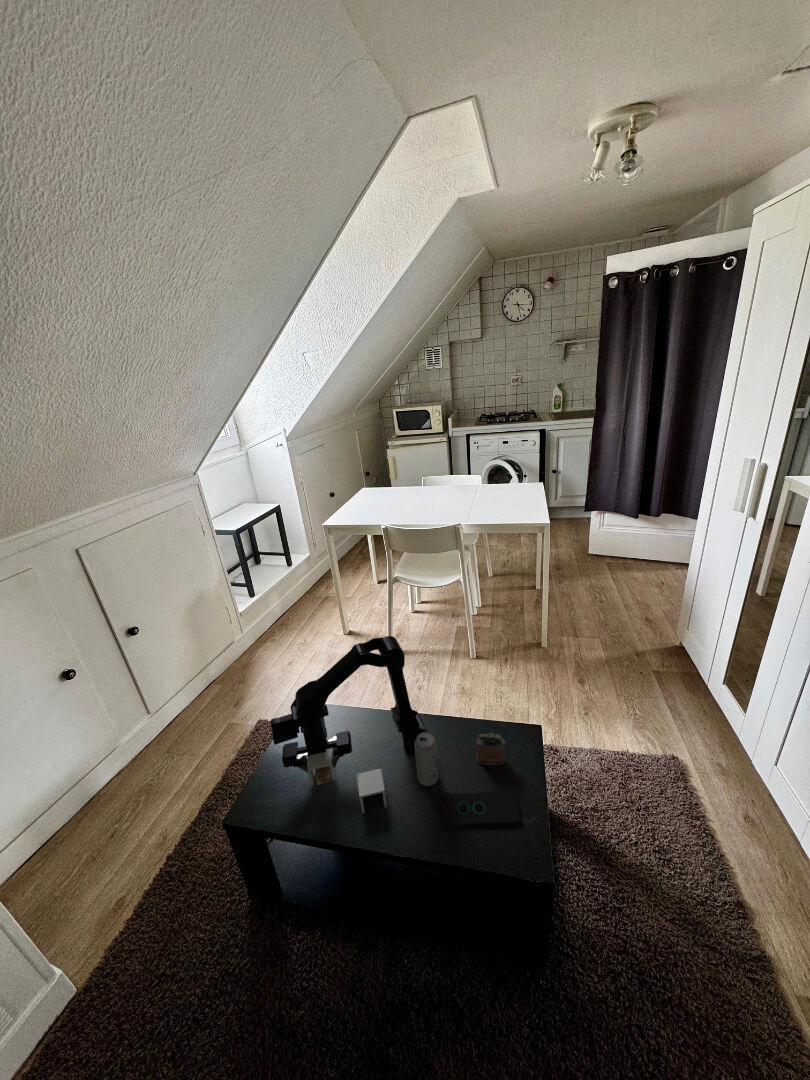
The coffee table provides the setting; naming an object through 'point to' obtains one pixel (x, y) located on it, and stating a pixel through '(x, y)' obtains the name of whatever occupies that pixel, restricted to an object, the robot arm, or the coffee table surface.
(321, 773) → the brown wooden cube
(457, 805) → the smart home device
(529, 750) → the coffee table surface
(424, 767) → the energy drink can
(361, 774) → the grey stool
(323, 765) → the grey piece
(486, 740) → the lighter
